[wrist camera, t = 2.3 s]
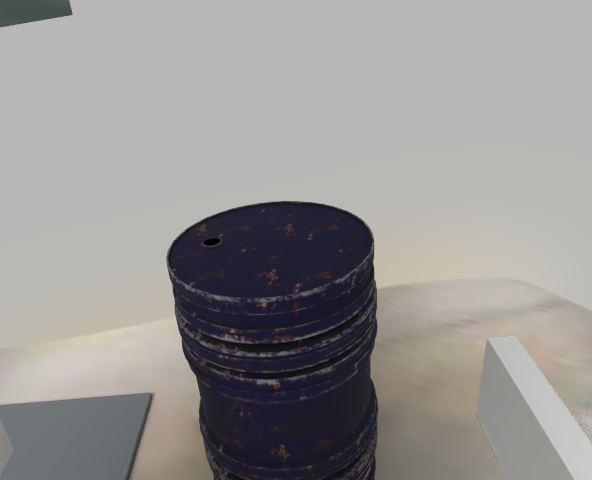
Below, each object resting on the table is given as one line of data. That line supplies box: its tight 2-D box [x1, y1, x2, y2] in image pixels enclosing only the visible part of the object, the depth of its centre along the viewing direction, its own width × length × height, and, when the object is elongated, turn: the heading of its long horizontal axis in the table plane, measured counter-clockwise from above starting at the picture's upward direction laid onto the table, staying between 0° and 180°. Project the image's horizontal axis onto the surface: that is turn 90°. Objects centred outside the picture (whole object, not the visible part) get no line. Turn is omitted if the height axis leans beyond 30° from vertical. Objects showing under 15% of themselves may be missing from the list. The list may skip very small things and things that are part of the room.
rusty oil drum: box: [167, 201, 378, 480], centre depth 27 cm, size 10×10×15 cm
